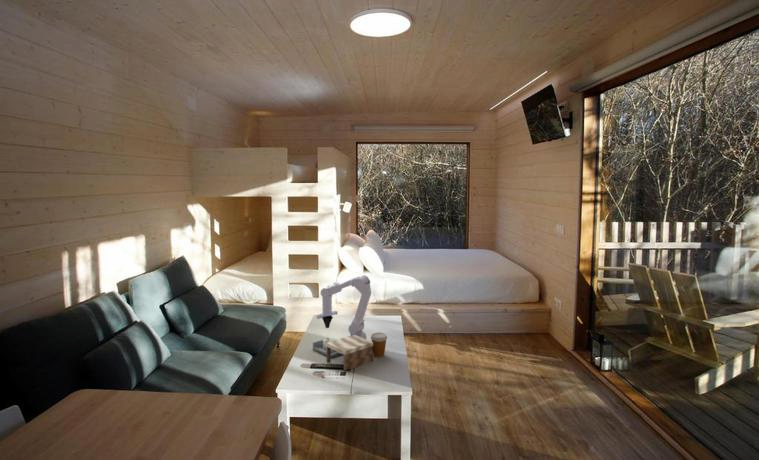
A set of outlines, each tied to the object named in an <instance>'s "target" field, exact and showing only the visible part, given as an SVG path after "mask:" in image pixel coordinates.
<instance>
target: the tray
mask: <svg viewBox="0 0 759 460" xmlns="http://www.w3.org/2000/svg"><path fill="white" fill-rule="evenodd" d="M328 342H330V338H329V337H327V338H322V339H320V340H316V341H312V350H313V351H315V352H317V353H319V354H321V355H323V356H324V357H327V343H328ZM338 356H339V357H340V356H344V354H342V353H339V352H337V351H335V350H333V349H331V348H330V359H333V358H336V357H338Z"/></svg>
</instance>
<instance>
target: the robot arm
mask: <svg viewBox="0 0 759 460" xmlns="http://www.w3.org/2000/svg"><path fill="white" fill-rule="evenodd" d="M348 287H353V288H355V289H356V290H357V291H358V292H359V293H360V294H361V296H360V299H359V302H358V305H357V309H356V311H355V316H354V318H353V319H352V321H351V324H350V325H349V326H348V332H349V334H350V336H351V335H357V336H359V337H362V338H364V339H367V334H366V332H365V331H363V330H364V328H365V319H364V317H365V316H366V311H367V309H368V308H367V307H368V305H369V302H370V298H371V296H372V289H371V280H370V278H369V277H368V276H367V275H365V274H364V275H361V276H355V277H352V278H350V279H348V280H346V281H344V282H341V283H340V282H334V283H333V284H331V285H327V287H324V288H322V289H321V290H320V295H321V298H322V313H320V314H317V315H316V319H317V320H320V319H322V321H323V324H324V326H325V329H329V328H330V326H331V322H332V320H333V318H334V317H333V316H334V315H338V314H339V313H338V311H337V310H334V311H333V309H332V308H333V306H332V305H333V304H332V303H333V301H332V299H333V295H336V294H338V293H341V292H342V291H343V289H344V288H348Z"/></svg>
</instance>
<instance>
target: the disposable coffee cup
mask: <svg viewBox="0 0 759 460" xmlns="http://www.w3.org/2000/svg"><path fill="white" fill-rule="evenodd" d="M387 340H388V336H387V334H386V333H383V332H374V333H372V334H371V336H370V341H371V342H373V357H375V358H384V356H385V352H386V345H387Z"/></svg>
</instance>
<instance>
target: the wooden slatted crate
mask: <svg viewBox="0 0 759 460" xmlns="http://www.w3.org/2000/svg"><path fill="white" fill-rule="evenodd" d="M330 348H331V349H333V350H335V351H337V352H339V353H342V354H343V371H344V370H347V369H350V370H352V368H353V369H355V368H358V367H361V366H363V365H366V364H369V363H372V362H374V355H373V342H372V340H369V339H367V338H366V339H364V338H362V337H359V336H357V335H351V334H350V335H349V336H344V337H343V338H339V339H335V340H332V341H329V342H328V343H327V356H326V362H327V363H331V361H332V360H331V358H330ZM347 371H348V370H347Z"/></svg>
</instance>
